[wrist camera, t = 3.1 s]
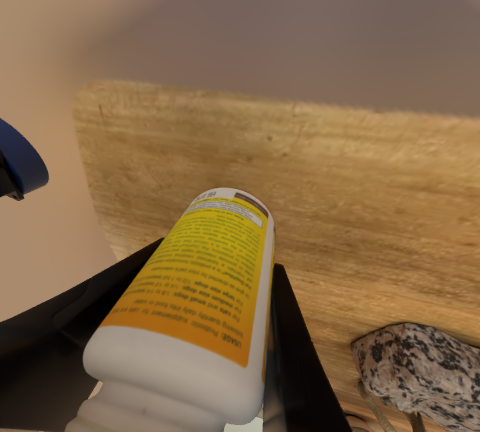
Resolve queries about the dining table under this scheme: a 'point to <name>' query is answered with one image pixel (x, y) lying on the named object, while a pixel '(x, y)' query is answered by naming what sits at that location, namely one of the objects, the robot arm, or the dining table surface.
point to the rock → (423, 373)
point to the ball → (358, 423)
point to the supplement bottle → (189, 326)
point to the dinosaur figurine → (414, 420)
